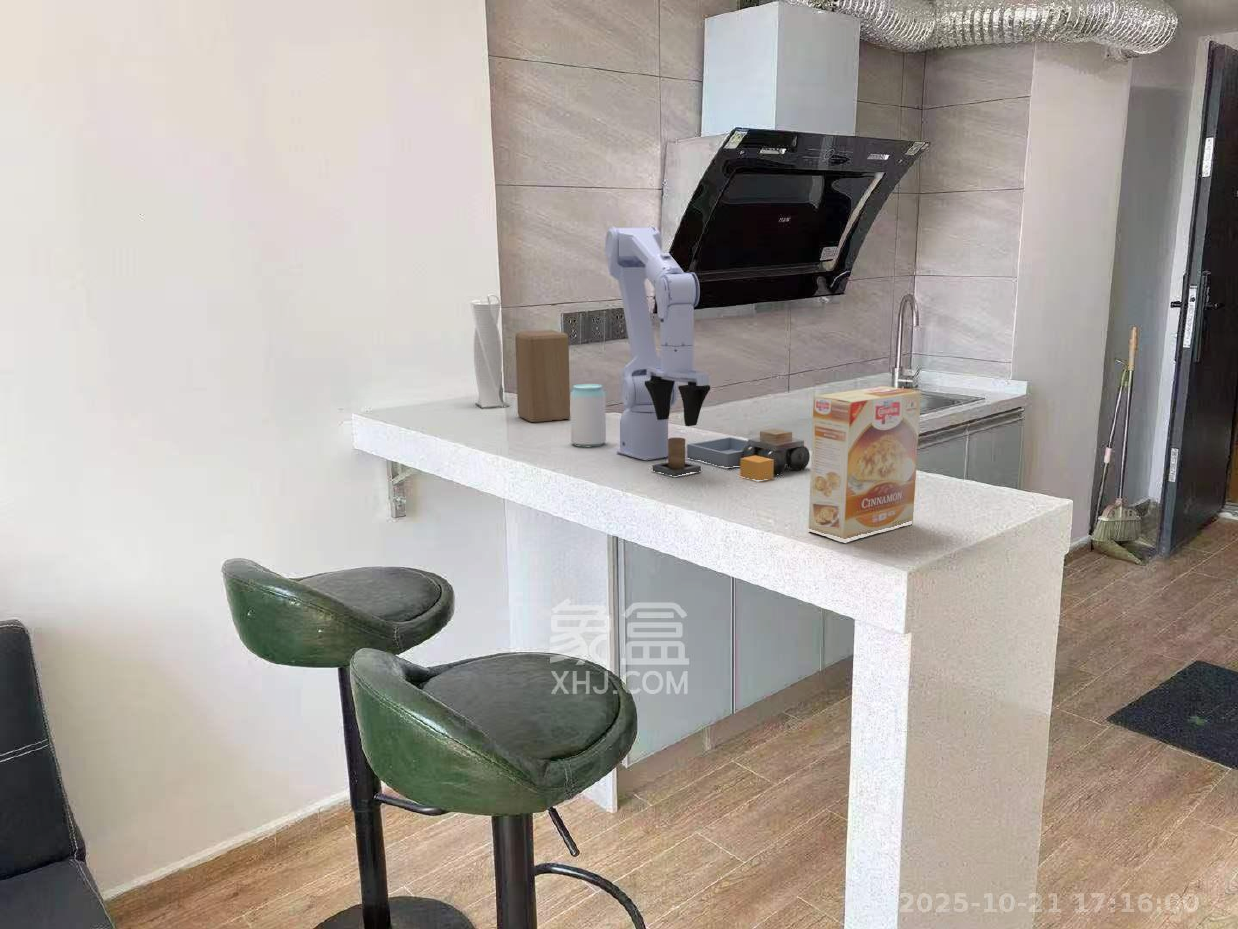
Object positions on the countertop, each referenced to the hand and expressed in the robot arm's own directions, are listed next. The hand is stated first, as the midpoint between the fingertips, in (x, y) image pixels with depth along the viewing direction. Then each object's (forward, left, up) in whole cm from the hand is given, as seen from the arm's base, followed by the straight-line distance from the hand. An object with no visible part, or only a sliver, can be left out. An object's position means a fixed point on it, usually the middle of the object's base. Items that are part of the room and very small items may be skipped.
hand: (676, 422), depth 170 cm
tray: (-2, +14, -9) cm, 17 cm away
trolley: (+9, +15, -9) cm, 20 cm away
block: (-61, +11, -9) cm, 63 cm away
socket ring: (0, 0, -9) cm, 9 cm away
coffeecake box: (+43, -2, -9) cm, 44 cm away
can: (-30, +2, -9) cm, 31 cm away
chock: (+12, +8, -9) cm, 17 cm away
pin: (0, 0, -9) cm, 9 cm away
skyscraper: (-84, +10, -9) cm, 85 cm away
